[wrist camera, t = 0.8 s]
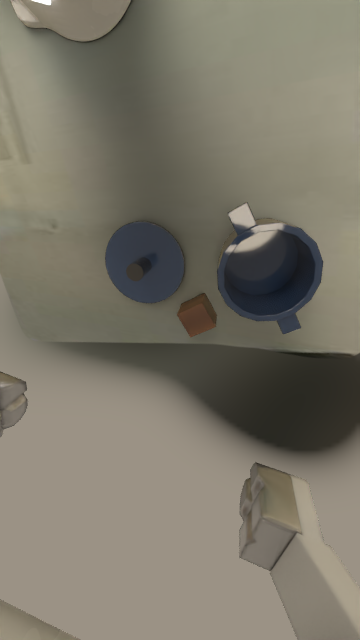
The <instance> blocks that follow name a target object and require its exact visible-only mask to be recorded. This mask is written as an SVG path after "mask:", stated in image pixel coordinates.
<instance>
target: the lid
mask: <svg viewBox="0 0 360 640" xmlns="http://www.w3.org/2000/svg"><path fill="white" fill-rule="evenodd" d="M105 260H106V268H107V271H108V274H109V277H110V279H111V280H112V282H113V284H114V285H115V286H116V288H117V289H118V290H119V291H120V292H121V293H123V294H124V295H125V296H127V297H128V298H130V299H132V300H135V301H138V302H142V303H156V302H160V301H162V300H165V299H166V298H168V297H170V296H171V295H172V294H173V293H174V292H175V291H176V290H177V288H178V287H179V285H180V283H181V281H182V279H183V275H184V268H185V263H184V256H183V253H182V250H181V248H180V245H179V244H178V242H177V240H176V239H175V238H174V237H173V235H172V234H171V233H169V232H168V231H167V230H166V229H164V228H163V227H161V226H159V225H157V224H154V223H150V222H144V221H141V222H133V223H129V224H127V225H125V226H123V227H121V228H120V229H119V230H117V231H116V232H115V233H114V234H113V236H112V237H111V239H110V241H109V243H108V246H107V249H106V257H105Z"/></svg>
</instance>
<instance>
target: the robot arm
mask: <svg viewBox="0 0 360 640" xmlns="http://www.w3.org/2000/svg"><path fill="white" fill-rule="evenodd" d="M10 1H11V3H12V6H13V8H14V10H15V13H16V15H17V16H18V18H19V19H20V20H21V21H22V22H23V23H24V24H25V25H26V26H28V27H30V28H49V29H51V30H53V31H55V32H56V33H58V34H60V35H62V36H63V37H65V38H68V39H70V40H74V41H82V42H85V41H92V40H95V39H98V38H100V37H102V36H104V35H105V34H107V33H108V32H109V31H111V30H112V29H113V28H114V27H115V26H116V24H117V23H118V22H119V21H120V19H121V18H122V16H123V15H124V13H125V12H126V10H127V8H128V6H129V4H130V1H131V0H10ZM26 390H27V387H26V382H25V381H23V380H21V379H18V378H16V377H13V376H10V375H8V374H5V373H3V372H0V437H1V436H2V433H3V430H4V429H6V428H9V427H12V426H14V425H15V424H16V423H17V422H18V421H19V420H20V419H21V418H22V416H23V415H24V413H25V412H26V408H27V398H26V397H25V395H24V392H25V391H26ZM250 475H251V478H249V479H246V481H245V483H244V486H243V489H242V493H241V498H240V515H241V517H242V519H243V521H244V522H243V524H242V526H241V528H240V532H239V533H240V534H239V536H240V537H239V539H240V540H239V546H240V548H239V549H240V550H239V557H240V558H242V559H244V560H247V561H248V562H251V563H253V564H255V565H257V566H260V567H262V568H264V569H267V570H269V571H271V572H270V575H271V577H272V579H273V582H274V584H275V586H276V589H277V591H278V594H279V596H280V599H281V601H282V603H283V606H284V608H285V611H286V613H287V615H288V618H289V620H290V623H291V625H292V627H293V629H294V632H295V634H296V637H297V639H298V640H360V587H359V585H358V584H357V583H356V581H355V580H354V579H353V577H352V576H351V574H350V573H349V571H348V570H347V569H346V567H345V566H344V564H343V563H342V561H341V560H340V559H339V557H338V556H337V554H336V553H335V552H334V551H333V549H332V547H331V546H329V545H327V544H325V543H324V539H323V536H322V532H321V528H320V524H319V520H318V517H317V513H316V510H315V505H314V502H313V498H312V494H311V490H310V486H309V484H308V482H307V481H306V480H305V479H302V478H299V477H296V476H294V475H291V474H287V473H285V472H282V471H279V470H276V469H274V468H270V467H268V466H265V465H262V464H259V463H254V464H253V466H252V468H251V470H250ZM0 640H80V639H78V638H76V637H74V636H72V635H70V634H68V633H66V632H64V631H62V630H60V629H58V628H56V627H54V626H52V625H50V624H48V623H46V622H44V621H42V620H40V619H38V618H36V617H34V616H32V615H30V614H28V613H26V612H24V611H22V610H20V609H18V608H16V607H14V606H12V605H10V604H8V603H6V602H4V601H2V600H1V599H0Z"/></svg>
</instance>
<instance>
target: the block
mask: <svg viewBox="0 0 360 640" xmlns="http://www.w3.org/2000/svg"><path fill="white" fill-rule="evenodd" d="M177 316H178V317H179V319H180V321H181V322H182V324H183V326H184V327H185V329H186V331H187V332H188V334H189V336H190V337H193V336H195V335H197V334H200V333H202V332H205V331H207V330H209V329H212V328H214V327H216V317H217V315H216V313H215V311H214V309H213V307H212V305H211V304H210V302H209V300H208V298H207V296H206V294H205V293H203V294H201V295H199V296H197V297H195V298H193V299H191V300H189V301H187V302H185V303H182V304H181V306H180V309H179V311H178V313H177Z"/></svg>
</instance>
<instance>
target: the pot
mask: <svg viewBox="0 0 360 640" xmlns="http://www.w3.org/2000/svg"><path fill="white" fill-rule="evenodd" d="M228 216H229V218H230V220H231V222H232V225H233V227H234V229H235V230H234V231H233V232H232V233H231V234H230V235H229V237H228V238H227V240H226V241H225V242H224V244H223V247H222V250H221V253H220V256H219V262H218V269H217V276H218V289H219V291H220V293H221V295H222V297H223V299H224V301H225V303H226V304H227V305H228V306H229V307H230V308H231V309H232V310H234V311H235V312H236V313H237V314H239V315H240V316H242V317H245V318H249V319H252V320H255V321H276V320H277V322H278V324H279V327H280V329H281V331H282V333H283V334H286V333H289V332H291V331H294V330H297V329H299V328H301V326H300V324H299V321H298V319H297V317H296V314H295V313H296V312H297V311H298V310H300V309H301V308H302V307H303V306H304V305H305V304H307V303H308V302H309V301H310V300H311V299H312V297H313V295H314V293H315V292H316V290H317V288H318V286H319V285H320V283H321V277H322V268H323V260H322V257H321V254H320V252H319V249H318V246H317V243H316V242H315V241H314V240H313V239H312V238H311V237H310V236H308V235H307V234H306V233H305V232H304V231H303V230H302V229H301V228H298V227H296V226H293V225H290V224H288V223H285V222H281V221H278V220H275V219H272V218H263V219H256V220H255V219H254V217H253V214H252V212H251V210H250V207H249V205H248V203H247V202H245V203H244V204H242V205H240V206H238V207H237V208H235V209H233V210H232V211H230V212H228Z"/></svg>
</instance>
